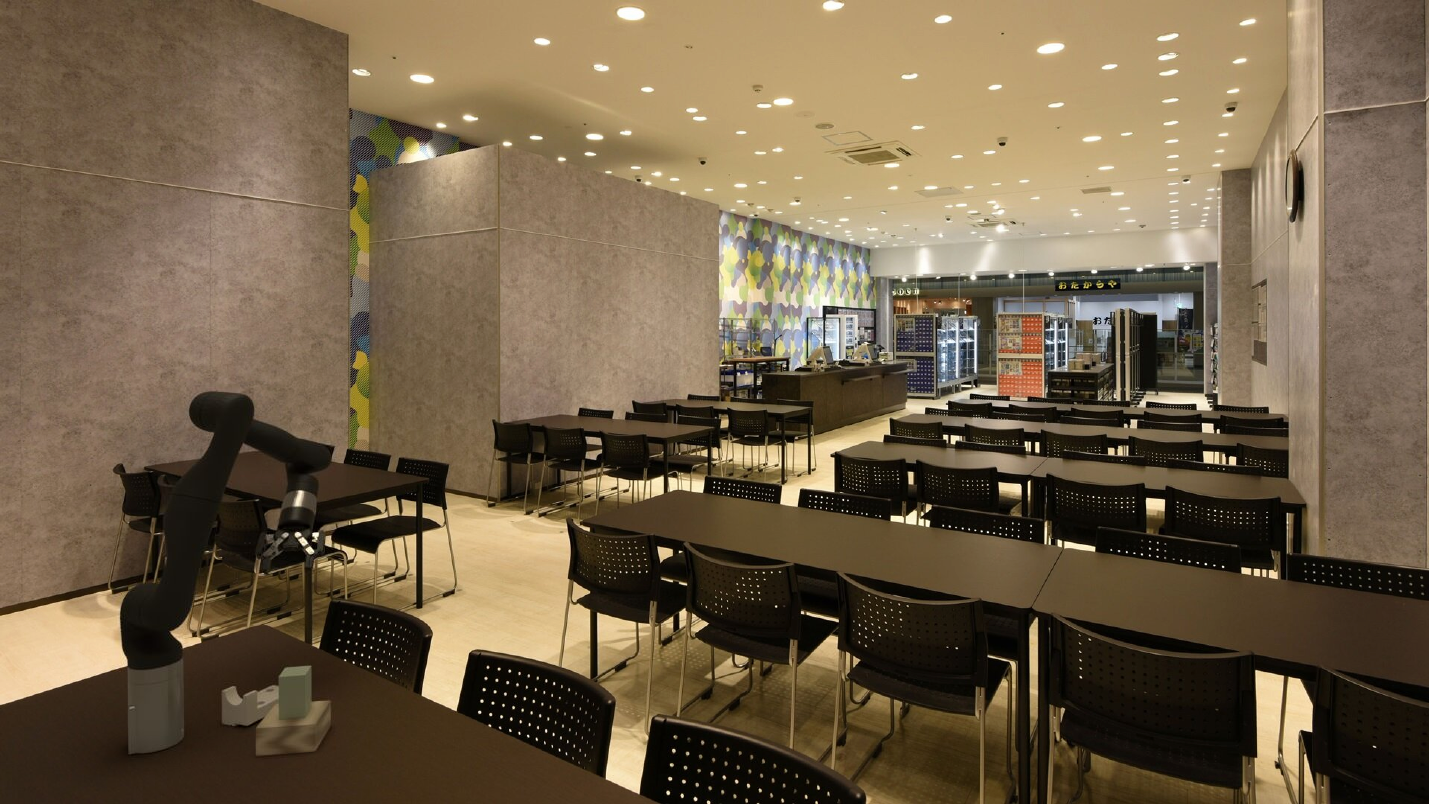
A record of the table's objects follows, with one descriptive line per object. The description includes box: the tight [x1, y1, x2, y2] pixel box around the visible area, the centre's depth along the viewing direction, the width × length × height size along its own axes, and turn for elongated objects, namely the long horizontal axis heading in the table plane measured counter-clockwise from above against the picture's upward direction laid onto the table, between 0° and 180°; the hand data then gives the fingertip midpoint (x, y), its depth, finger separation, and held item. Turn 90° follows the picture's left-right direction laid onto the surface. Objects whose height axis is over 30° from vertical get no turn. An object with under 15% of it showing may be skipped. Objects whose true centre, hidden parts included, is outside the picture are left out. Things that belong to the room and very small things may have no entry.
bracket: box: [221, 684, 279, 727], centre depth 169 cm, size 13×7×8 cm, turn 163°
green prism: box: [278, 665, 312, 720], centre depth 158 cm, size 5×5×9 cm
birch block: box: [255, 700, 332, 757], centre depth 158 cm, size 11×11×6 cm
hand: (286, 572), depth 174 cm, fingers open, 8 cm apart
